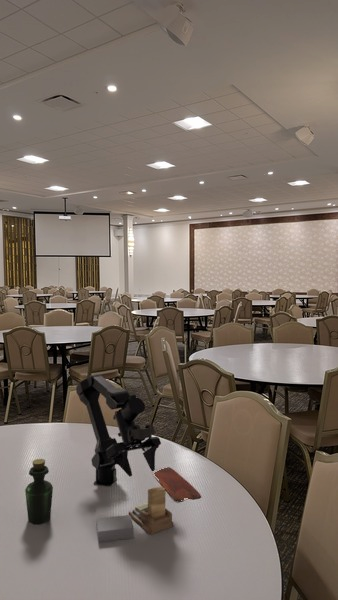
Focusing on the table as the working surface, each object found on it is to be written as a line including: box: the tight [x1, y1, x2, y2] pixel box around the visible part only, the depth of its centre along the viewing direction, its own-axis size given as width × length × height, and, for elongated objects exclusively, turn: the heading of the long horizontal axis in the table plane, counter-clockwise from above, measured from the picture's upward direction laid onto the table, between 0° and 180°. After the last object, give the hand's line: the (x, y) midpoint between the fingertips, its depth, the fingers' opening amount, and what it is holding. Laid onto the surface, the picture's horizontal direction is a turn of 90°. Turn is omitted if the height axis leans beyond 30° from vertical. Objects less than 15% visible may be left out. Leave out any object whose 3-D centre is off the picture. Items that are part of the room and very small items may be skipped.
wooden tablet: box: [154, 466, 202, 502], centre depth 162 cm, size 27×10×2 cm, turn 22°
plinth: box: [95, 514, 135, 543], centre depth 130 cm, size 7×10×3 cm
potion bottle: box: [24, 458, 54, 525], centre depth 137 cm, size 8×8×18 cm
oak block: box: [147, 485, 166, 519], centre depth 134 cm, size 2×5×8 cm, turn 124°
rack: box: [128, 501, 175, 535], centre depth 137 cm, size 13×8×4 cm, turn 34°
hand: (142, 473), depth 141 cm, fingers open, 9 cm apart
